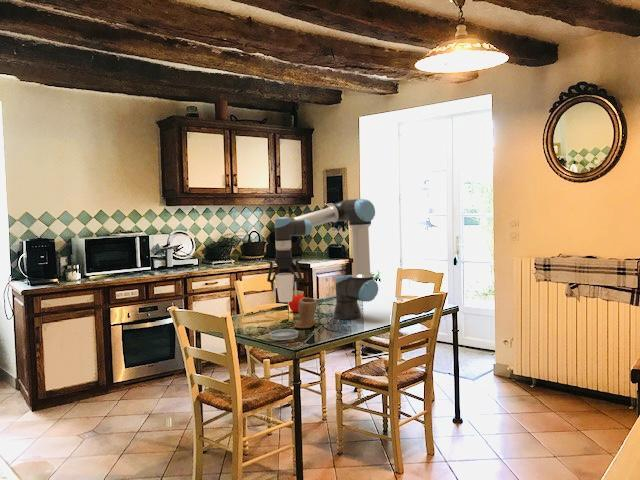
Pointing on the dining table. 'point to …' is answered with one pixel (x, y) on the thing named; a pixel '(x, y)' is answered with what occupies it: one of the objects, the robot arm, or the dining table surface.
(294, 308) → the tomato
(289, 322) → the dining table surface
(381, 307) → the dining table surface
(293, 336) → the saucer
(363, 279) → the robot arm
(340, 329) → the dining table surface
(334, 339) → the dining table surface
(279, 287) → the foam cup
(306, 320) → the stone cup
